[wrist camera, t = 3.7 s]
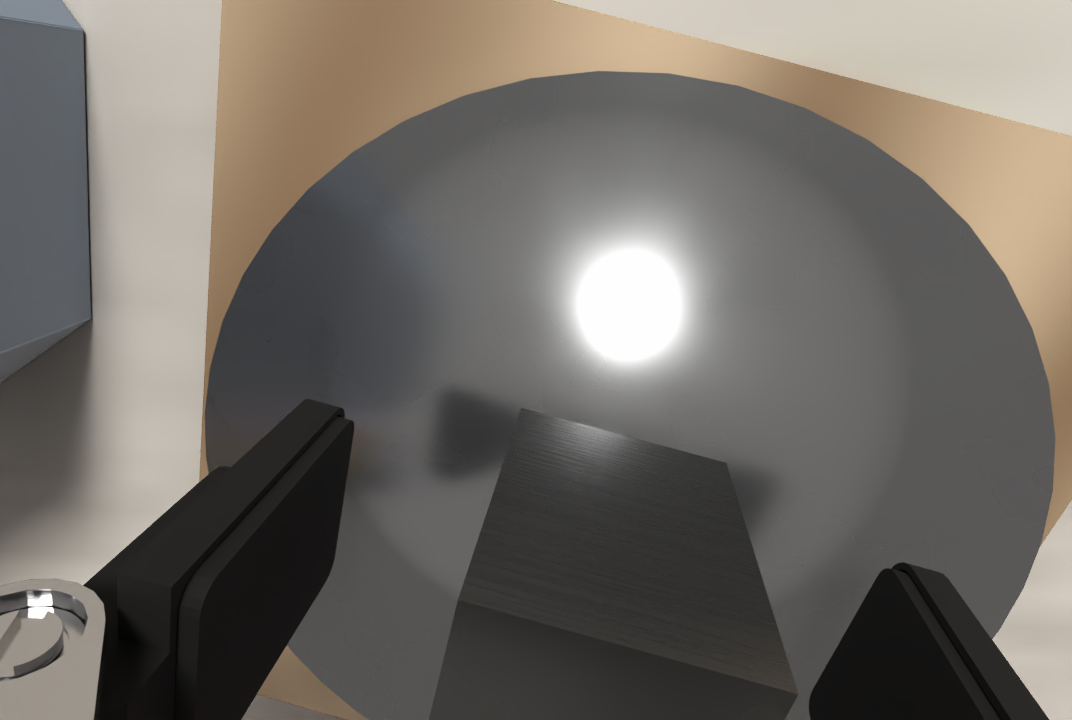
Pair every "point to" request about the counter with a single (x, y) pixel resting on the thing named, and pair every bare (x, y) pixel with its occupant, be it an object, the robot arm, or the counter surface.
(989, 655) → the robot arm
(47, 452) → the counter surface
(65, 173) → the bowl
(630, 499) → the lid
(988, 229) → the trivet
